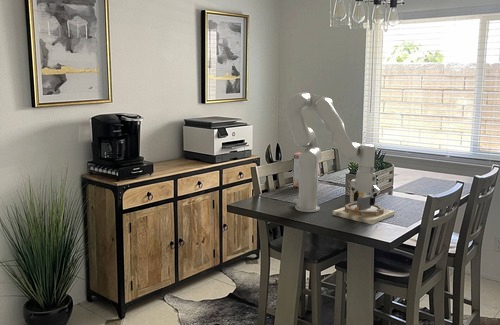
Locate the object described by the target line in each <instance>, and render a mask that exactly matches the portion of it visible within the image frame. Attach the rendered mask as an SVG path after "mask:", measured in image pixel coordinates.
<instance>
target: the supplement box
mask: <svg viewBox="0 0 500 325" xmlns="http://www.w3.org/2000/svg"><path fill="white" fill-rule="evenodd" d="M355 179H356V178H352V179H351V180H350V184H351V183H353V182H355ZM354 187H355V185H354ZM349 189H350V190H349V191H350V192H349V203H352V202H357V201H354V193H353V191H352V189H351V186H350V188H349ZM358 193H359V197H363V196H366V195H368V193H365V192H361V191H359V192H358Z"/></svg>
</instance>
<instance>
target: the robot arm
mask: <svg viewBox="0 0 500 325" xmlns="http://www.w3.org/2000/svg"><path fill="white" fill-rule="evenodd" d="M334 106H335V105H334V102H333V100H332V99H331V98H329V97H326V96H322V95H318V94H314V93H310V92H303V91H302V92H298V93H295V94H293V95H292V96H291V97H290V98H289V99H288V101H287V103H286V105H285V116H286V120H287V123H288V126H289V130H290V132H291V136H292V138H293V141H294V144H295V145H296V147H299V148H301V154H300V156H299V187H298V198H297V197H296V198H294V199H293V201H292V202H293V203H295V204H296V205H295V208H294V209H295V210H296V211H298V212H303V213H315V212H319V211H320V209H321V208H320V206H319V205H318V186H319V185H318V184H319V181H318V180H319V170H318V164H319V163H320V161H321V159H322V157H323V156H322V155H323V154H322V150H321V146H320V144H319V141H318V138H317V136H316V133H315V131H314V130H313V128H311V127H309V126H308V124H307V122H306V119H305V117H304V114H303V111H304V110H308V111H312V112H315V113H316V115H317V117H318V118H319V119H320V121H321V123H322V124H323V125H324V127H325V128H326V130H327V131H328V133H329V136H330V138H331V140H332V141H333V144H334V146H335V147H336V148H337V151H338V152H339V154H340V155H341V156H342V158H344V159H345V160H346V161H353V160H355V159H356V158H358V170H357V171H356V174H355V178H354V179H355V182H353V183H351V182H350V183H349V185H350V186H351V189H352V191H353V193H354V201H357V198H359V193H358V192H359V191H361V192H365V193H367V194H368V195H370V196H371V198H370V206H372V205H374V204H376V198H377V197H378V196H379V194H380V193H381V189H380V188H379V187H378V186H377V176H376V173H375V172H376V170H377V169H376V168H375V157H376V147H375V145H374V144H370V143H359V142H358V143H357V142H352V141H351V139H350V137H349V136H348V133H347V132H346V129H345V124H344V121H343V120H342V118H341V117H340V115H339V113H338V112H337V111H336V109H335V107H334ZM354 185H355V187H354Z"/></svg>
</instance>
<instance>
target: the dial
mask: <svg viewBox="0 0 500 325" xmlns="http://www.w3.org/2000/svg"><path fill="white" fill-rule="evenodd" d="M370 198H371V196H370V194H367V195H366V196H363V197H359V198H357V205H353V206H350V209H353V210H355V209H356V210H358V211H377V209H378V208H376V207H374V206H370Z"/></svg>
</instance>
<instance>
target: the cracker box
mask: <svg viewBox="0 0 500 325" xmlns="http://www.w3.org/2000/svg"><path fill="white" fill-rule="evenodd" d="M301 153H302V151H301V152H295V153H293V175H292V176H293V177H292V178H293V179H292V180H293V181H292V186H293V187H294V188H299V156H300V154H301Z"/></svg>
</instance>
